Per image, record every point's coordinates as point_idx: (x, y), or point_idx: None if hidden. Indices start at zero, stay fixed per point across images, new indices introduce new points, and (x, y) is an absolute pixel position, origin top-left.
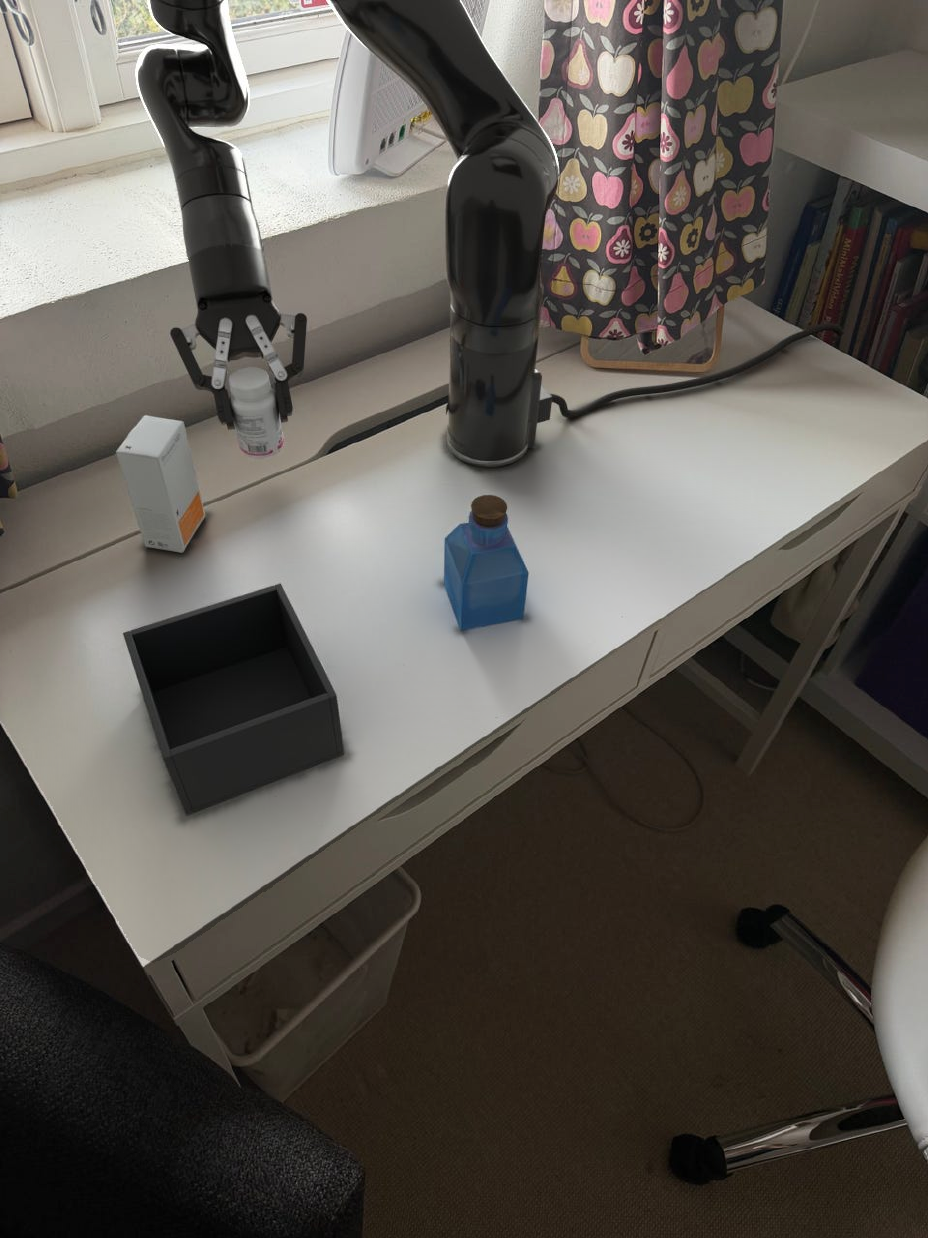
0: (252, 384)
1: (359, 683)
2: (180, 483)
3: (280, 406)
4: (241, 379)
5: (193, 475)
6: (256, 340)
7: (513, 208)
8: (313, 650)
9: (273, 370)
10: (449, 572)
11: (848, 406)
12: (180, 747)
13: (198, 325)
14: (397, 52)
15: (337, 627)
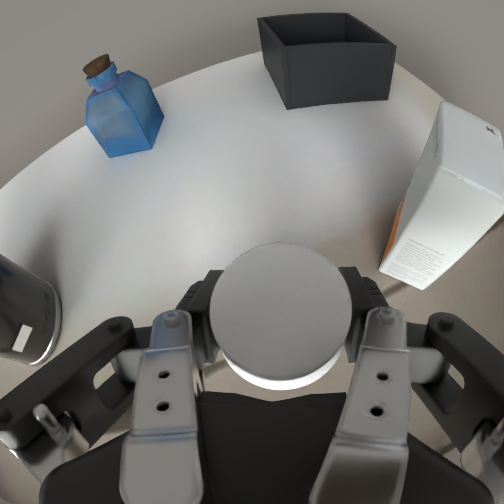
0: (272, 262)
1: (244, 88)
2: (415, 180)
3: (216, 279)
4: (307, 298)
5: (403, 224)
6: (191, 403)
7: None
8: (264, 27)
9: (187, 329)
10: (144, 115)
11: None
12: (340, 13)
13: (488, 491)
14: None
15: (248, 118)
